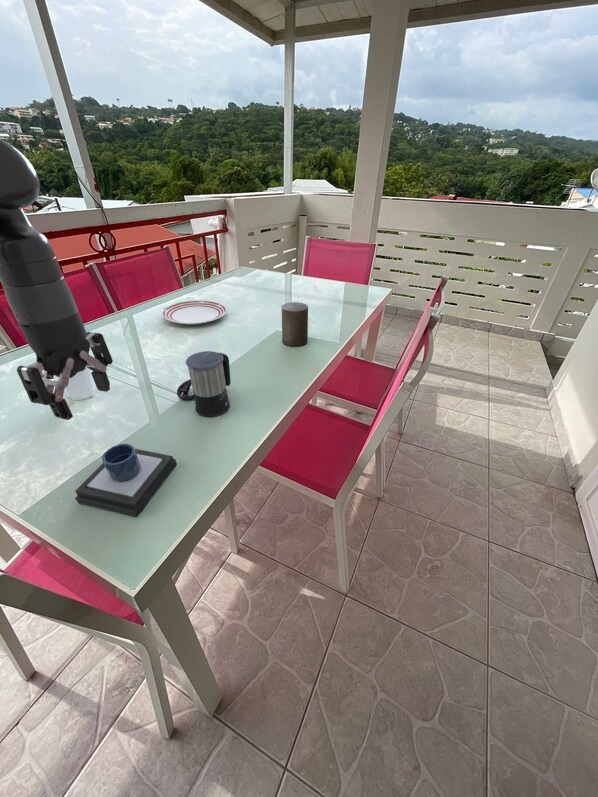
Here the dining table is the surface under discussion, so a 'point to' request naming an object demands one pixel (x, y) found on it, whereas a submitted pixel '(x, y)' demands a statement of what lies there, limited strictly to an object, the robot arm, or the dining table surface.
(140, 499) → the scale
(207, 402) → the milk frother
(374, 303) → the dining table surface
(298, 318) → the pillar candle
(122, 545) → the dining table surface
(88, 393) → the foam cup
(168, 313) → the dinner plate
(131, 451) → the blue cup
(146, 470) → the pan
